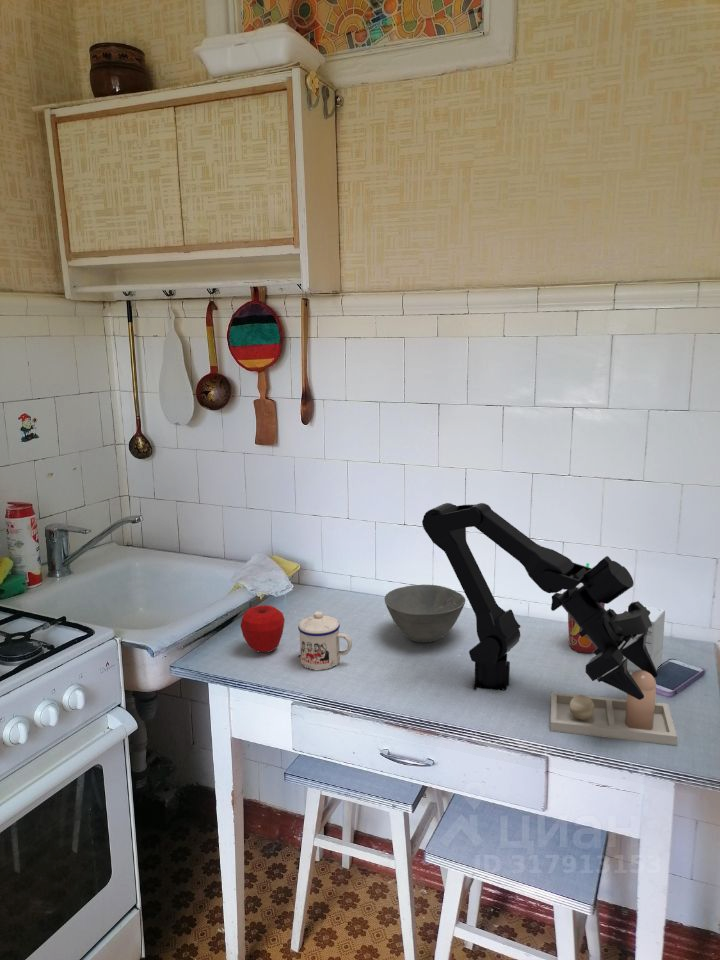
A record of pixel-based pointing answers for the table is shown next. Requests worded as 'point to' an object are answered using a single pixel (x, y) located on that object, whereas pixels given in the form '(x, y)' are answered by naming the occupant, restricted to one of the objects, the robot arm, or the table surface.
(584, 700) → the beige lumpy ball
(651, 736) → the pulp tray
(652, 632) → the supplement box
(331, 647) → the teacup with lid
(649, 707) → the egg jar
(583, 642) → the smoothie
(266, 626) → the apple
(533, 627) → the table surface
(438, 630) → the bowl
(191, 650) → the table surface
